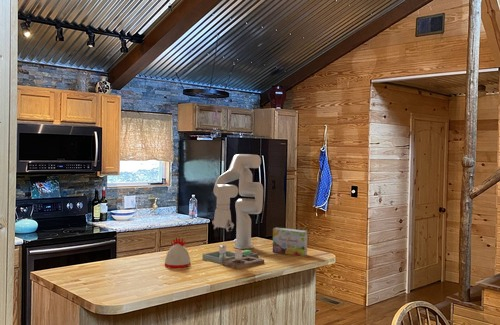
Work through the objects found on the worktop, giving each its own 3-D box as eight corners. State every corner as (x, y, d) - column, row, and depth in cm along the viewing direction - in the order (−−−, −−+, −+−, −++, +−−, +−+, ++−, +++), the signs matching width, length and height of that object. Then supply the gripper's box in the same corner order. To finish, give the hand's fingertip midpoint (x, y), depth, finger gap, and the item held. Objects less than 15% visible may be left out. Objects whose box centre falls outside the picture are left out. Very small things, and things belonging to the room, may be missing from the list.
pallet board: (222, 267, 261) (222, 261, 261) (248, 261, 276) (248, 256, 276) (238, 271, 253) (238, 265, 253) (264, 265, 267) (264, 259, 267)
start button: (241, 257, 282) (242, 250, 282) (247, 256, 285) (247, 249, 285) (247, 258, 279) (247, 251, 279) (252, 257, 282) (252, 250, 282)
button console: (236, 258, 282) (236, 253, 282) (247, 256, 288) (247, 251, 288) (247, 261, 276) (247, 256, 276) (258, 258, 282) (258, 253, 282)
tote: (202, 260, 276) (202, 254, 276) (223, 256, 288) (223, 250, 288) (221, 265, 265) (221, 259, 265) (242, 260, 276) (242, 254, 276)
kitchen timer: (185, 269, 256) (185, 240, 256) (160, 267, 259) (161, 239, 259) (193, 263, 270) (194, 236, 270) (170, 261, 273) (170, 235, 272)
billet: (217, 259, 276) (217, 245, 276) (222, 258, 279) (222, 244, 279) (222, 260, 273) (222, 246, 273) (227, 259, 276) (227, 245, 276)
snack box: (272, 252, 300) (272, 228, 299) (275, 251, 305) (276, 227, 304) (304, 256, 290) (304, 231, 289) (307, 254, 295) (308, 230, 294)
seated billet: (233, 265, 261) (233, 250, 261) (238, 264, 264) (238, 249, 264) (238, 266, 259) (238, 251, 258) (243, 265, 262) (243, 250, 261)
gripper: (208, 206, 278) (207, 236, 279) (228, 208, 266) (228, 240, 267) (217, 205, 284) (217, 234, 284) (238, 208, 272) (237, 238, 272)
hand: (222, 237), depth 275 cm, fingers open, 9 cm apart
